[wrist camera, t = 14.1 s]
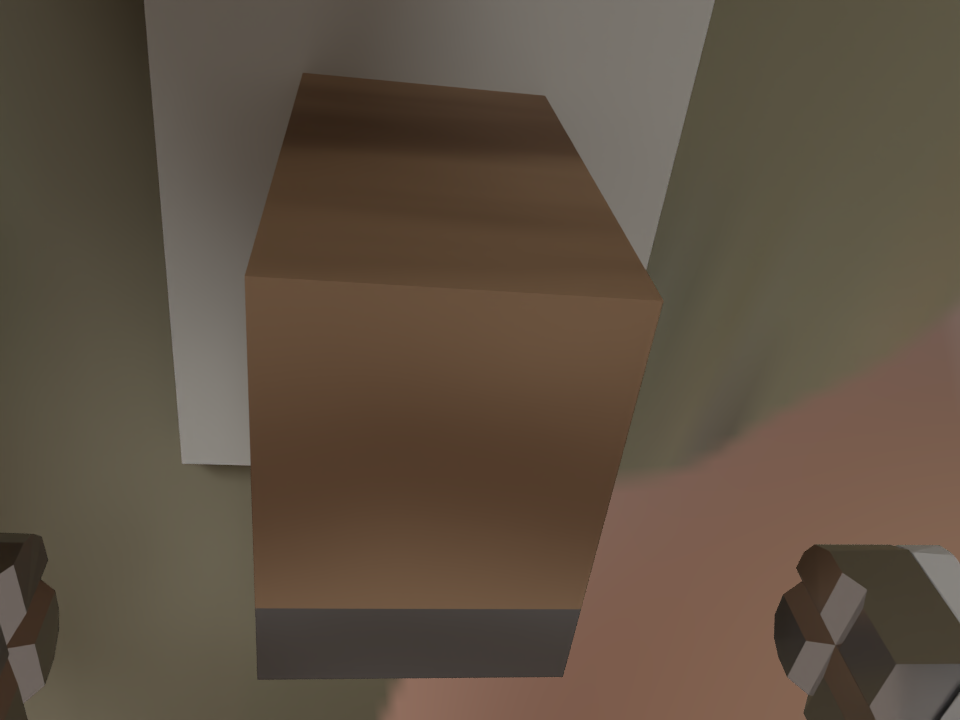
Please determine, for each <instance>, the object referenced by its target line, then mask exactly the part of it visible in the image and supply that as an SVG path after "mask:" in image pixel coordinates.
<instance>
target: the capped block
mask: <svg viewBox="0 0 960 720" xmlns="http://www.w3.org/2000/svg"><path fill="white" fill-rule="evenodd" d="M662 305H663V299H662V297H661V296H660V294H659V292H658V291H657V289H656V287H655V285H654V284H653V282H652V280H651V278H650V277H649V275H648V273H647V271H646V270H645V268H644V266H643V265H642V263H641V261H640V259H639V258H638V256H637V254H636V252H635V251H634V249H633V247H632V245H631V244H630V242H629V240H628V239H627V237H626V235H625V233H624V232H623V230H622V228H621V226H620V225H619V223H618V221H617V219H616V218H615V216H614V214H613V212H612V211H611V209H610V207H609V206H608V204H607V202H606V200H605V199H604V197H603V195H602V193H601V192H600V190H599V188H598V186H597V185H596V183H595V181H594V180H593V178H592V176H591V174H590V173H589V171H588V169H587V167H586V166H585V164H584V162H583V160H582V159H581V157H580V155H579V154H578V152H577V150H576V148H575V147H574V145H573V143H572V141H571V140H570V138H569V136H568V134H567V133H566V131H565V129H564V128H563V126H562V124H561V122H560V121H559V119H558V117H557V115H556V114H555V112H554V110H553V108H552V107H551V105H550V103H549V102H548V100H547V98H546V96H543V95H533V94H522V93H512V92H501V91H491V90H480V89H469V88H459V87H448V86H438V85H427V84H417V83H406V82H396V81H385V80H375V79H364V78H353V77H343V76H332V75H322V74H311V73H303V74H302V77H301V81H300V84H299V88H298V91H297V95H296V98H295V102H294V105H293V109H292V112H291V116H290V119H289V123H288V126H287V130H286V133H285V137H284V140H283V144H282V147H281V151H280V154H279V158H278V161H277V164H276V168H275V171H274V175H273V178H272V182H271V185H270V189H269V192H268V196H267V199H266V203H265V206H264V210H263V213H262V217H261V220H260V224H259V227H258V231H257V234H256V238H255V241H254V245H253V248H252V252H251V255H250V259H249V262H248V266H247V269H246V273H245V307H246V338H247V369H248V400H249V431H250V462H251V493H252V524H253V555H254V586H255V617H256V648H257V678H258V680H269V679H377V678H472V677H473V678H481V677H484V678H485V677H563V674H564V670H565V667H566V663H567V659H568V655H569V651H570V648H571V644H572V640H573V637H574V633H575V629H576V626H577V622H578V618H579V614H580V611H581V607H582V603H583V599H584V595H585V592H586V588H587V585H588V581H589V577H590V573H591V570H592V566H593V562H594V558H595V555H596V551H597V547H598V544H599V540H600V536H601V532H602V529H603V525H604V521H605V517H606V514H607V510H608V506H609V502H610V499H611V495H612V491H613V488H614V484H615V480H616V476H617V473H618V469H619V465H620V461H621V458H622V454H623V450H624V447H625V443H626V439H627V435H628V432H629V428H630V424H631V420H632V417H633V413H634V409H635V405H636V402H637V398H638V394H639V391H640V387H641V383H642V379H643V376H644V372H645V368H646V364H647V361H648V357H649V353H650V350H651V346H652V342H653V338H654V335H655V331H656V327H657V323H658V320H659V316H660V312H661V308H662Z"/></svg>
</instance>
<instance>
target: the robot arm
mask: <svg viewBox="0 0 960 720" xmlns="http://www.w3.org/2000/svg"><path fill="white" fill-rule="evenodd" d="M47 562H48V558H47V554H46V550H45V547H44V543H43V540H42V537H41V536H38V535H35V534H23V533H0V720H28V719H27V715H26V712H25V708H24V704H23V703H24V702H26V701H27V700H28V699H29V698H30V697H31V696H33V695H34V694H35V693H36V692H37V691H39V690H40V689H41V688H42V687H43V686H44V685H45V683H46V680H47V677H48V675H49V672H50V669H51V666H52V663H53V660H54V655H55V650H56V644H57V638H58V632H59V607H58V602H57V597H56V593H55V590H54V589H52V588H51V587H50V586H48V585H47V584H46V583H45V582H43V581H42V580H41V576H42V574H43V572H44V569H45V567H46V564H47ZM796 568H797V571H798V573H799V575H800V577H801V579H802V582H800V583H799V584H797V585H796V586H795V587H793V588H792V589H790V590H789V591H788V592H786V593H785V594H783V596H782V599H781V601H780V604H779V606H778V608H777V611H776V613H775V626H774V639H775V644H776V648H777V653H778V657H779V659H780V662H781V664H782V666H783V669H784V671H785V673H786V675H787V677H788V678H789V679H790V680H791V681H792V682H794V683H795V684H796V685H797V686H799V687H800V688H801V689H802V690H803V691H804V692H806V693H807V694H808V697H807V702H806V705H805V709H804V715H805V717H806V719H807V720H960V563H959V562H958V560H957V559H956V558H955V556H954V555H953V554H952V553H951V552H949V551H948V550H946V549H944V548H943V547H941V546H940V545H897V546H892V545H813V546H812V547H811V548H809V549H808V550H807V551H805V552H804V554H803V555H802V557H801V559H800V561H799V564H798V565H797V567H796Z"/></svg>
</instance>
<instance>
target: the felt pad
mask: <svg viewBox="0 0 960 720" xmlns="http://www.w3.org/2000/svg"><path fill="white" fill-rule="evenodd" d="M714 2H715V0H144V8H145V20H146V33H147V45H148V57H149V69H150V81H151V93H152V105H153V117H154V129H155V142H156V154H157V166H158V178H159V190H160V202H161V214H162V226H163V238H164V250H165V263H166V275H167V287H168V299H169V311H170V323H171V335H172V347H173V359H174V371H175V384H176V396H177V408H178V420H179V432H180V444H181V456H182V464H215V465H249V466H251V462H250V431H249V400H248V369H247V338H246V307H245V273H246V269H247V266H248V262H249V259H250V255H251V252H252V248H253V245H254V241H255V238H256V234H257V231H258V227H259V224H260V220H261V217H262V213H263V210H264V206H265V203H266V199H267V196H268V192H269V189H270V185H271V182H272V178H273V175H274V171H275V168H276V164H277V161H278V158H279V154H280V151H281V147H282V144H283V140H284V137H285V133H286V130H287V126H288V123H289V119H290V116H291V112H292V109H293V105H294V102H295V98H296V95H297V91H298V88H299V84H300V81H301V77H302V74H303V73H311V74H322V75H332V76H343V77H353V78H364V79H375V80H385V81H396V82H406V83H417V84H427V85H438V86H448V87H459V88H469V89H480V90H491V91H501V92H512V93H522V94H533V95H543V96H546V98H547V100H548V102H549V103H550V105H551V107H552V108H553V110H554V112H555V114H556V115H557V117H558V119H559V121H560V122H561V124H562V126H563V128H564V129H565V131H566V133H567V134H568V136H569V138H570V140H571V141H572V143H573V145H574V147H575V148H576V150H577V152H578V154H579V155H580V157H581V159H582V160H583V162H584V164H585V166H586V167H587V169H588V171H589V173H590V174H591V176H592V178H593V180H594V181H595V183H596V185H597V186H598V188H599V190H600V192H601V193H602V195H603V197H604V199H605V200H606V202H607V204H608V206H609V207H610V209H611V211H612V212H613V214H614V216H615V218H616V219H617V221H618V223H619V225H620V226H621V228H622V230H623V232H624V233H625V235H626V237H627V239H628V240H629V242H630V244H631V245H632V247H633V249H634V251H635V252H636V254H637V256H638V258H639V259H640V261H641V263H642V265H643V266H644V268H645V270H646V269H647V265H648V262H649V258H650V254H651V250H652V246H653V242H654V238H655V234H656V230H657V226H658V222H659V218H660V214H661V210H662V207H663V203H664V199H665V195H666V191H667V187H668V183H669V179H670V175H671V171H672V167H673V163H674V159H675V155H676V151H677V148H678V144H679V140H680V136H681V132H682V128H683V124H684V120H685V116H686V112H687V108H688V104H689V100H690V96H691V93H692V89H693V85H694V81H695V77H696V73H697V69H698V65H699V61H700V57H701V53H702V49H703V45H704V41H705V38H706V34H707V30H708V26H709V22H710V18H711V14H712V10H713V6H714Z"/></svg>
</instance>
